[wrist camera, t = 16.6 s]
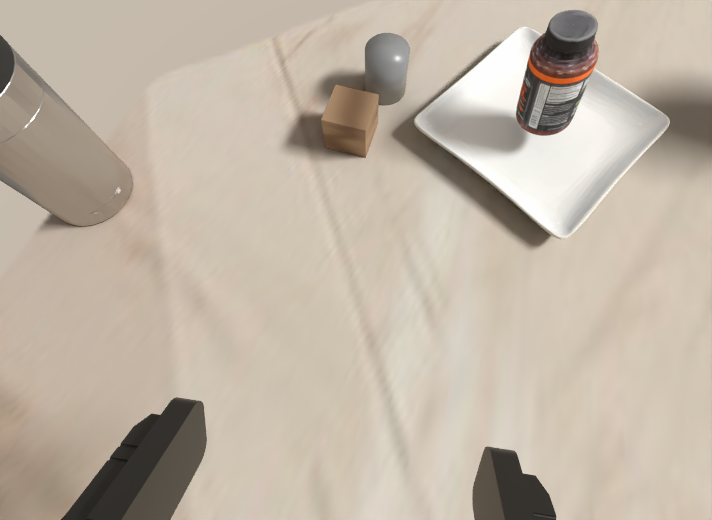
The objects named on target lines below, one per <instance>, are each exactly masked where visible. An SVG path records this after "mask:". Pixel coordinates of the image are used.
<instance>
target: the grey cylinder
mask: <svg viewBox="0 0 712 520" xmlns="http://www.w3.org/2000/svg"><path fill="white" fill-rule="evenodd" d="M409 53H410V47H409V44H408V43H407V41H406V40H405V39H404V38H402V37H401V36H399V35H396V34H392V33H382V34H378V35H376V36H374V37H372V38H371V39H370V40H369V41H368V42H367V44H366V47H365V91H366V92H370V93H375V94H379V102H378V104H380V105H391V104H394V103H396V102H398V101H399V100H400V99H401V98H402V97H403V95H404V93H405V86H406V78H407V70H408V62H409Z"/></svg>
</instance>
